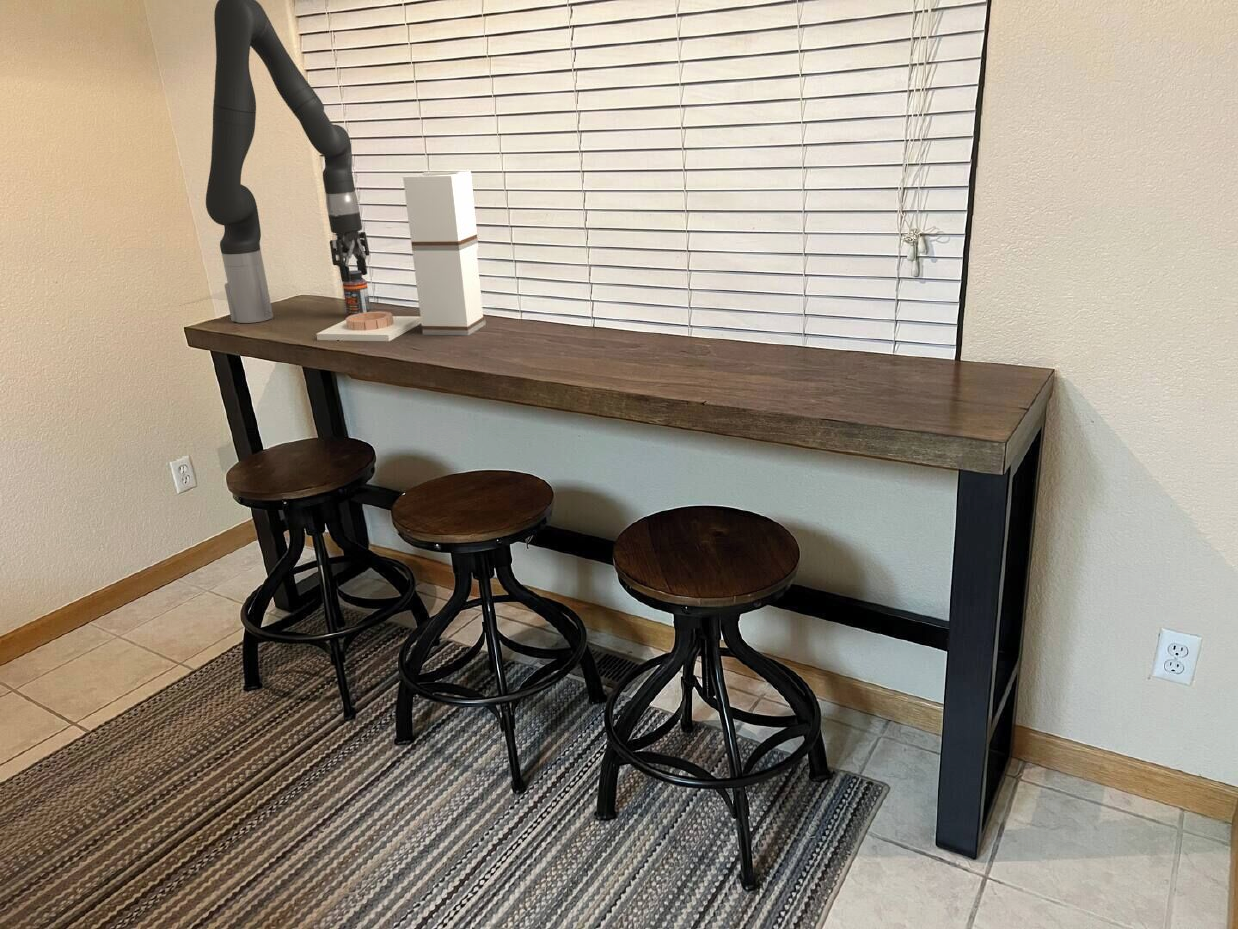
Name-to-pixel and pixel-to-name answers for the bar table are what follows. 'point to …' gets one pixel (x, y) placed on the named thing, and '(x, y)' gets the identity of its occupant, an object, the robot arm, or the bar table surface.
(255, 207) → the robot arm
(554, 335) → the bar table surface
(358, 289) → the supplement bottle
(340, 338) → the collar mount
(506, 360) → the bar table surface
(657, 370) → the bar table surface
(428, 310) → the white striped pillar
